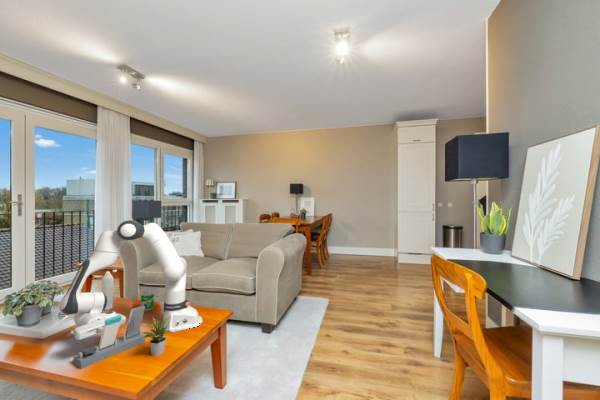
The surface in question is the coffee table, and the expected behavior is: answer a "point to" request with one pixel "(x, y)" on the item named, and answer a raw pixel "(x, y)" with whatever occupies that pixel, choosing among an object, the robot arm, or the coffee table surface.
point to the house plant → (157, 337)
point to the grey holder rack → (108, 350)
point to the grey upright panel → (134, 321)
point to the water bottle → (108, 289)
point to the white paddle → (109, 331)
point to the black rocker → (88, 350)
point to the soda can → (147, 300)
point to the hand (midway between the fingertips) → (108, 330)
